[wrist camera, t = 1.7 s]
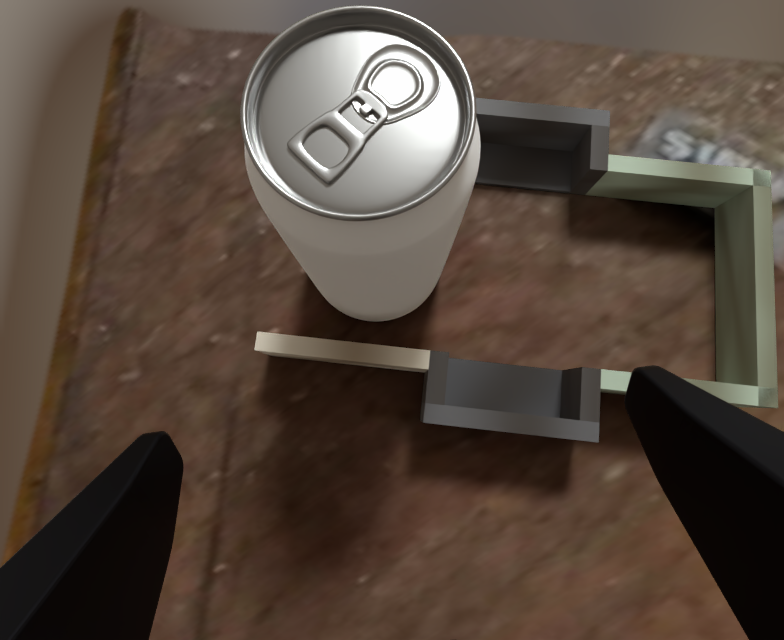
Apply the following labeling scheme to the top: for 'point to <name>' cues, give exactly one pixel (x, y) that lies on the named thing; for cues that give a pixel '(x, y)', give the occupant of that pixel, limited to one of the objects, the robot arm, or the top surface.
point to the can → (363, 153)
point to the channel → (605, 179)
